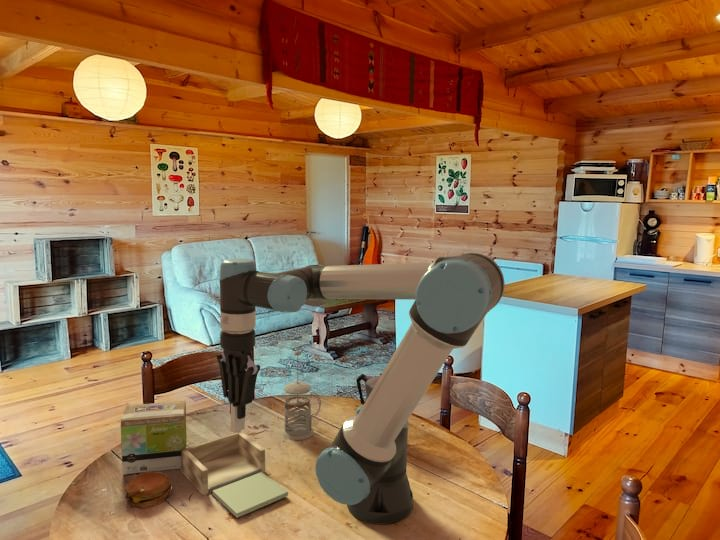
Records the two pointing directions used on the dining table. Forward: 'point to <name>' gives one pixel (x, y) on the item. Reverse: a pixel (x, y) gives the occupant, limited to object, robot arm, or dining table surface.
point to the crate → (221, 460)
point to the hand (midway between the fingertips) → (237, 429)
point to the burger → (148, 489)
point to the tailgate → (248, 492)
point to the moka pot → (369, 385)
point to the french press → (302, 424)
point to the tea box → (153, 436)
